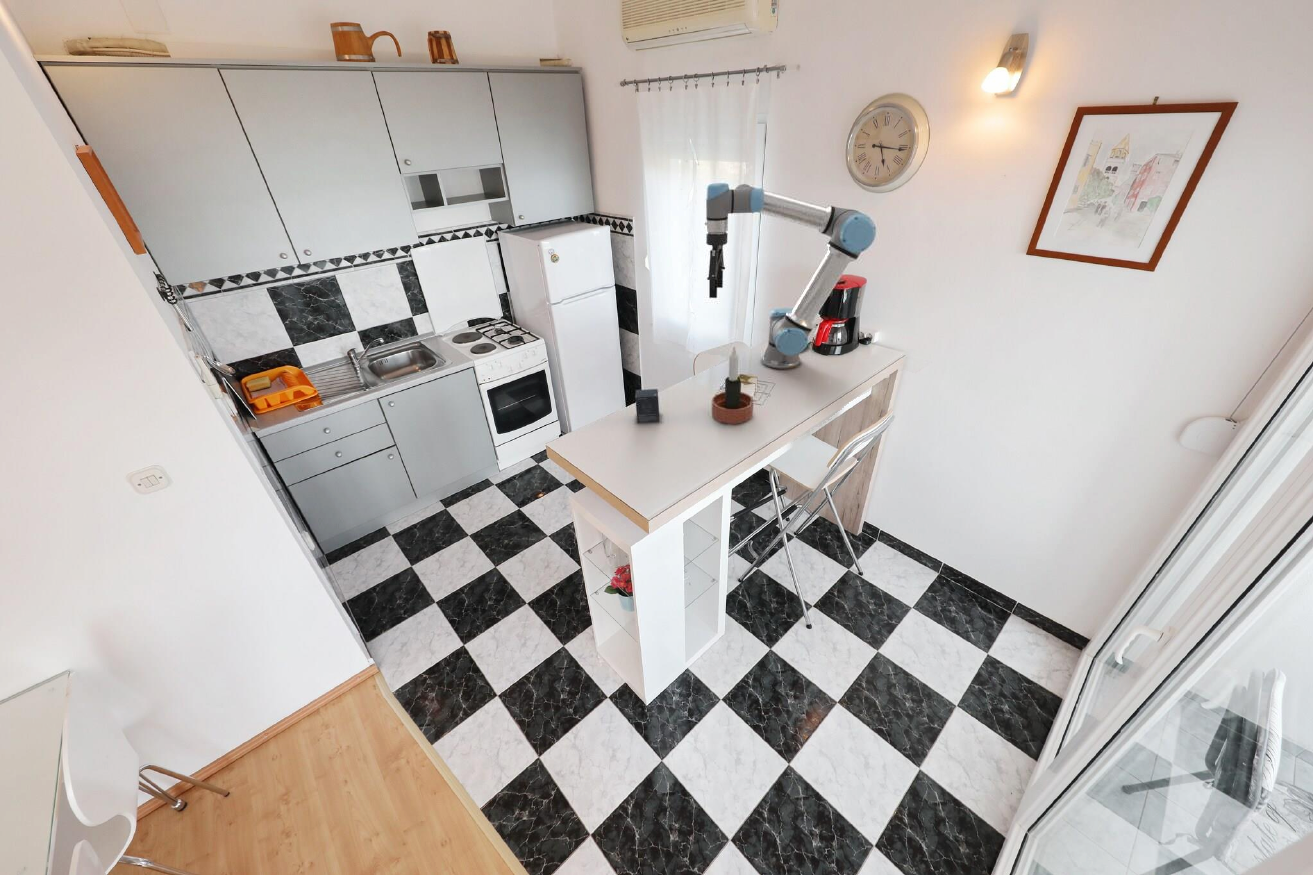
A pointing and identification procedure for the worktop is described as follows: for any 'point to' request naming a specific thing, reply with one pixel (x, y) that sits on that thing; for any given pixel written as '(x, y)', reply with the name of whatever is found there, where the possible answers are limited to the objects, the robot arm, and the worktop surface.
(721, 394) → the bowl
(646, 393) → the box
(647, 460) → the worktop surface
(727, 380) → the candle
